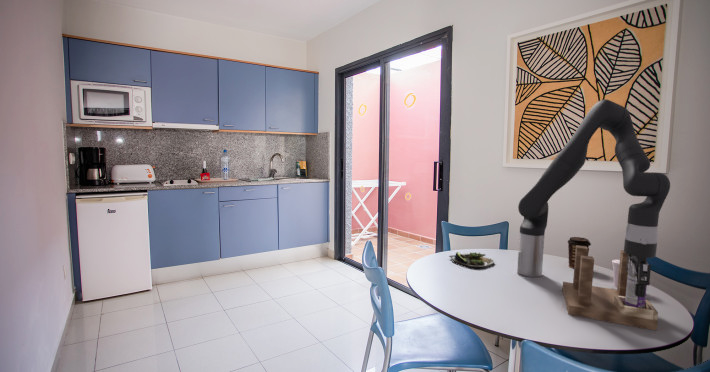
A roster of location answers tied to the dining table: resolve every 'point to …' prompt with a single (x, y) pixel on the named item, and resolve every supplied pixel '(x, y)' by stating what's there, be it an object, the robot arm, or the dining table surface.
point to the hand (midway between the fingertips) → (635, 291)
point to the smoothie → (615, 271)
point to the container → (633, 291)
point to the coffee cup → (572, 248)
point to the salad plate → (472, 260)
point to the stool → (604, 296)
